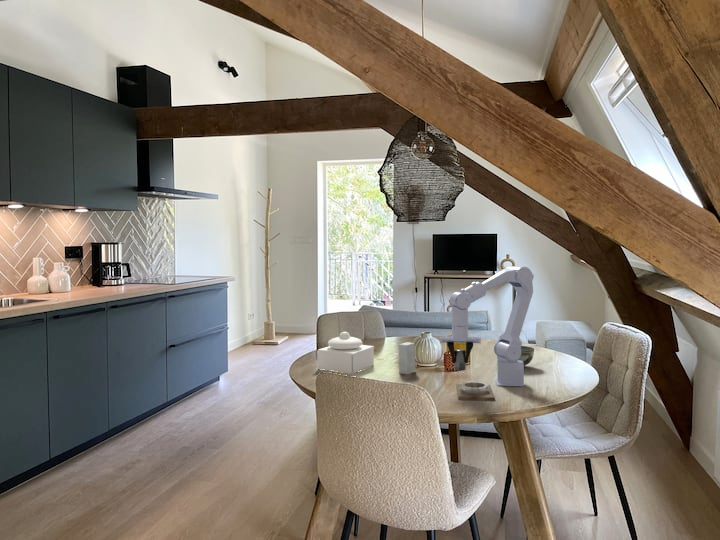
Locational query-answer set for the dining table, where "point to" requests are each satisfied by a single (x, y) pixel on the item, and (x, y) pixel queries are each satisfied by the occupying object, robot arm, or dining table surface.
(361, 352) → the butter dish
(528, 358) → the bowl
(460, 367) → the cylinder
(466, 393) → the collar board
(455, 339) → the robot arm
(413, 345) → the skincare box
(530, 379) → the dining table surface
